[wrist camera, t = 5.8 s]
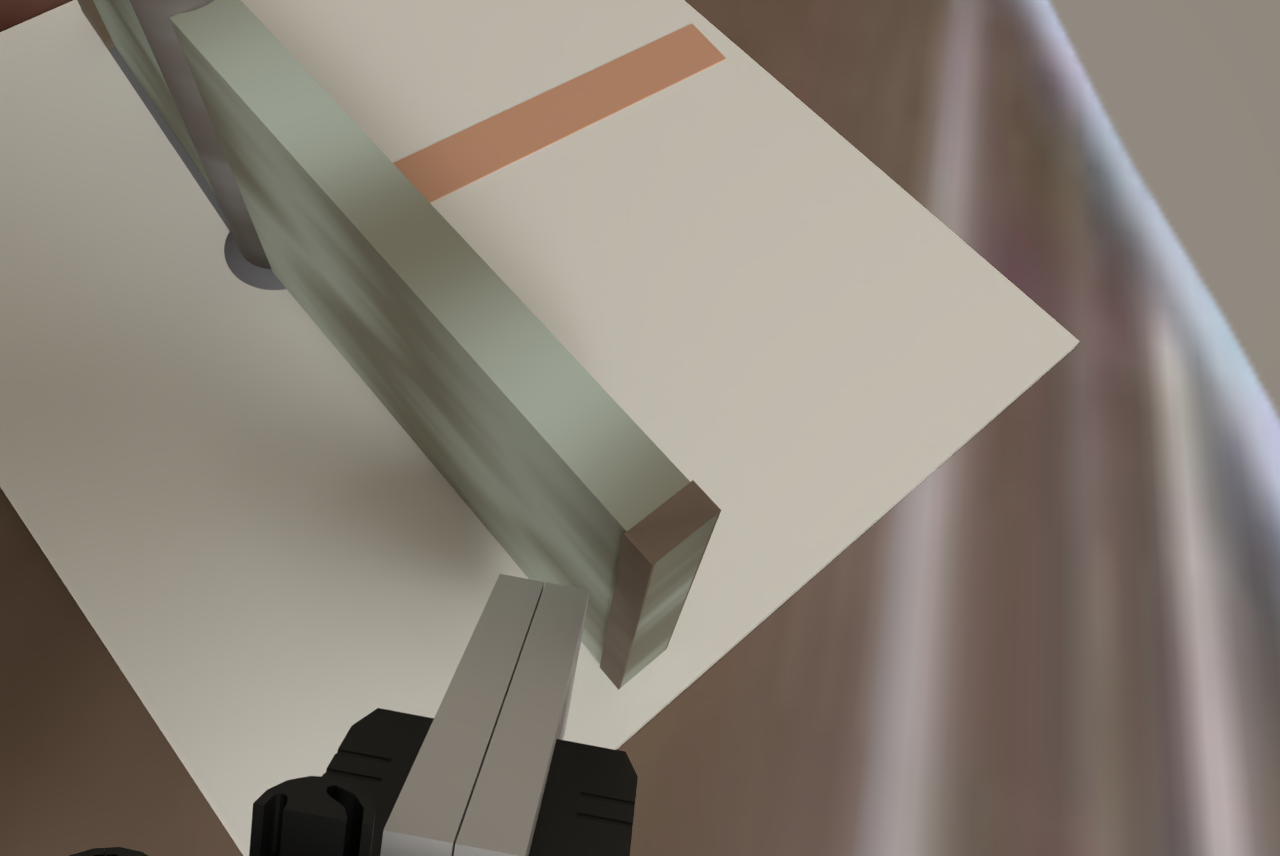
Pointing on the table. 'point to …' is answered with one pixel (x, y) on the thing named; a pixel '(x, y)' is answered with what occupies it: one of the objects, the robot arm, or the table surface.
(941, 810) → the table surface
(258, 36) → the hinged fence panel
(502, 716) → the robot arm
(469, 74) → the card
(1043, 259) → the table surface
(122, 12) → the fixed fence section
